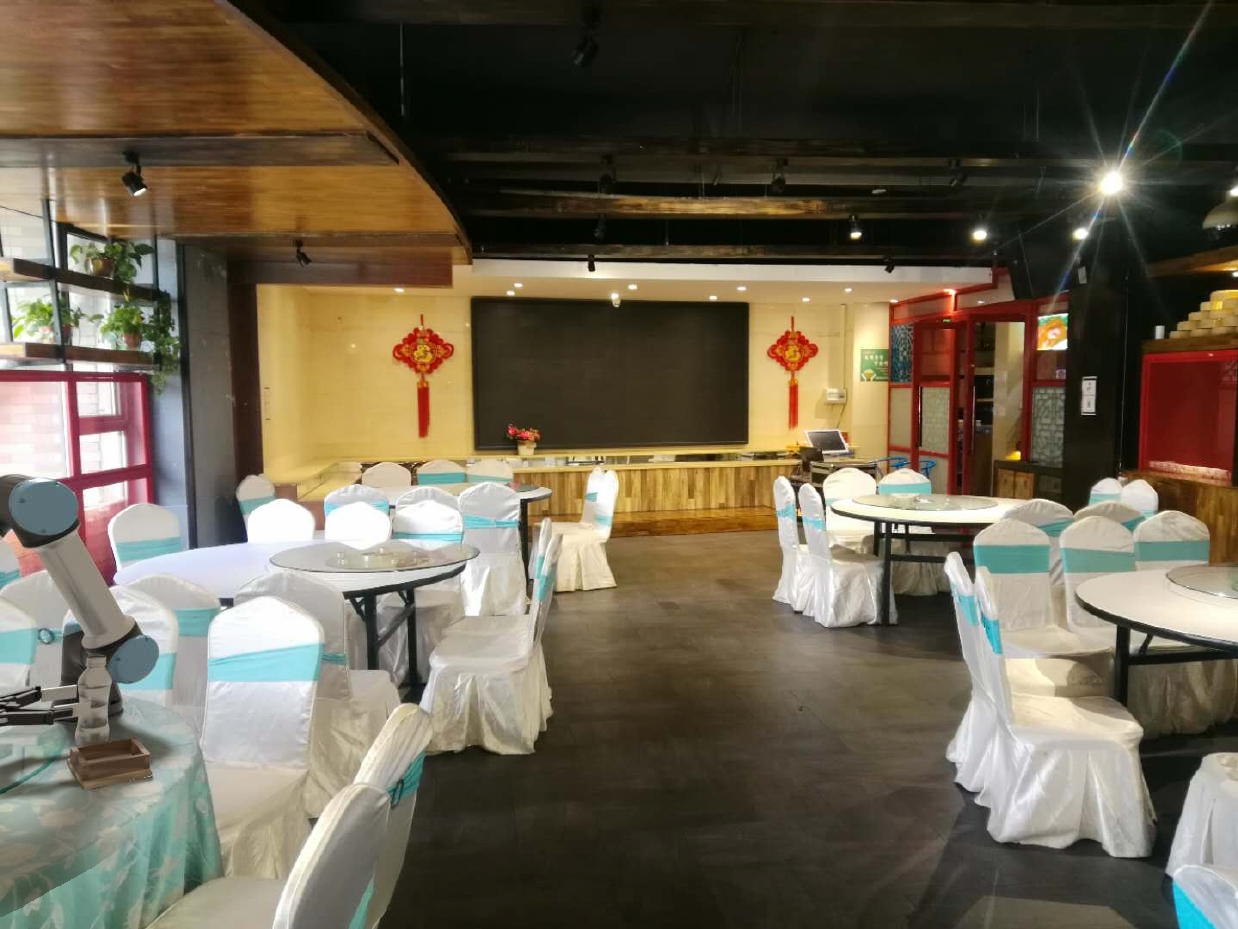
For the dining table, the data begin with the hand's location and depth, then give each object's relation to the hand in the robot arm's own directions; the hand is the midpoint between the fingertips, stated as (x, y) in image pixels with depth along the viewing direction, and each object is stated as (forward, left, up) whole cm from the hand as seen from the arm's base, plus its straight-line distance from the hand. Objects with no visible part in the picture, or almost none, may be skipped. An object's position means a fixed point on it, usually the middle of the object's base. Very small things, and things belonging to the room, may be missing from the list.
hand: (83, 699), depth 184 cm
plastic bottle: (0, +2, -11) cm, 11 cm away
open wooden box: (+16, +2, -11) cm, 19 cm away
